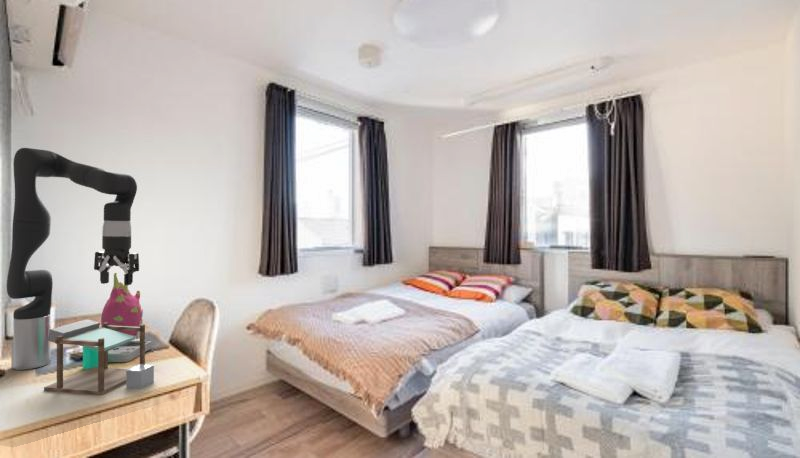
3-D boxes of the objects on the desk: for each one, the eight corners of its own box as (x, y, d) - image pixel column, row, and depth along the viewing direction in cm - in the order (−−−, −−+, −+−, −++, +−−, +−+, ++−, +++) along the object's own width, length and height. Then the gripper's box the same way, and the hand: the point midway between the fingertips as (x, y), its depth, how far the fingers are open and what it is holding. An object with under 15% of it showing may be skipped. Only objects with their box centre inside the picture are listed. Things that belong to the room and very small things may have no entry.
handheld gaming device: (101, 363, 134) (101, 353, 134) (128, 349, 148) (129, 340, 148) (127, 363, 134) (127, 353, 134) (152, 349, 149) (152, 340, 149)
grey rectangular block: (141, 371, 114) (141, 389, 114) (153, 365, 119) (153, 382, 119) (126, 370, 114) (126, 387, 114) (139, 364, 119) (139, 381, 119)
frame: (44, 390, 112) (44, 335, 111) (94, 369, 127) (94, 321, 127) (101, 395, 109) (101, 339, 109) (145, 373, 125) (145, 324, 125)
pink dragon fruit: (140, 348, 148) (140, 273, 148) (96, 354, 142) (97, 275, 141) (144, 336, 164) (144, 268, 163) (105, 341, 157) (105, 270, 156)
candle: (92, 369, 127) (92, 335, 127) (78, 368, 128) (78, 333, 128) (109, 363, 133) (109, 330, 133) (95, 361, 134) (95, 328, 134)
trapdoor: (47, 340, 113) (49, 329, 113) (85, 329, 125) (87, 319, 125) (101, 356, 111) (103, 344, 111) (134, 343, 123) (136, 332, 123)
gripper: (86, 234, 119) (86, 284, 119) (126, 236, 117) (125, 287, 117) (108, 233, 126) (107, 281, 126) (146, 235, 124) (145, 283, 124)
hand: (116, 284), depth 122 cm, fingers open, 8 cm apart
